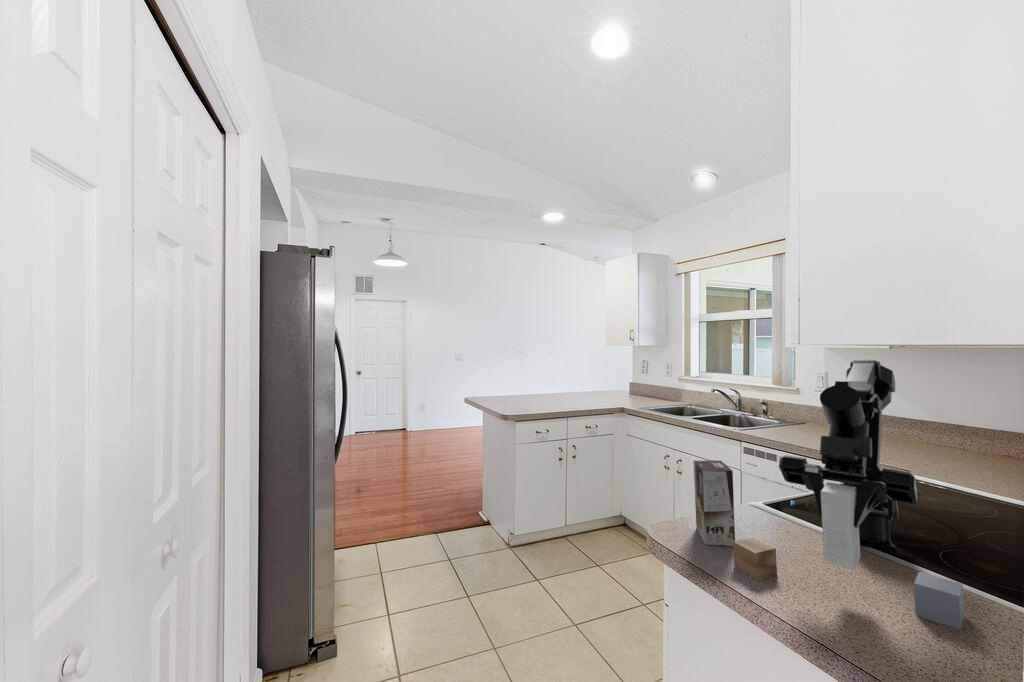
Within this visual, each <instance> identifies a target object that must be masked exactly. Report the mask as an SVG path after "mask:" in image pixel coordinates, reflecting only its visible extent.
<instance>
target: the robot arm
mask: <svg viewBox="0 0 1024 682" xmlns="http://www.w3.org/2000/svg"><path fill="white" fill-rule="evenodd" d="M845 376H846V378H845V380H844V381H837V380H835V382H834V385H832V386H830V387H829V386H828V387H827V388H825V389H824V390H823V391H822V392H821V393H820V395H819V400H820V405H821V407H822V410H823V414H824V417H825V419H826V421H827V424H829V425H830V426H829V430H828V431H829V432H828V435H820V447H819V454H820V455H821V458H820V461H821V464H823V465H824V467H821V466H820V465H817V464H811V463H808V461H807V459H806V458H805V457H801V456H793V455H783V456H782V457H781V458H780V460H779V464H778V467H779V471H780V472H781V474H782V476H783V478H784V481H785V482H787V483H791V484H797V485H802V486H805V488H806V489H807V490H808V491H812V492H813V493H814V497H815V502H816V506H817V509H818V515H819V519H820V520H821V521H822V510H821V490H822V489H823V488H824V487H825V484H824V482H825V480H826V481H830V482H831V481H833V482H836V483H838V482H839V484H841V485H847V486H853V487H856V488H857V501H858V502H857V506H856V510H855V515H854V527H856V528H858V527H859V539H860V546H864V547H877V548H887V549H895V548H896V546H895V544H894V543H892V542H891V529H890V520H893V519H899V509H898V503H897V502H899V503H903V504H909V505H914V504H918V487H917V483H916V477H915V475H914V474H912V473H911V472H910V471H903V470H896V469H890V468H889V469H888V468H882V469H880V468H881V467H880V466H881V444H882V443H881V440H882V418H883V416H882V415H883V410H884V409H885V408H887V406H888V405H890V404H891V402H892V395H893V393H895V392H896V379H895V375H894V371H893V370H891V369H890V368H887V367H886V366H884V365H882V364H881V362H880V361H879V360H876V359H854V360H851V361H850V364H849V368H847V369H846V375H845Z"/></svg>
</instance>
